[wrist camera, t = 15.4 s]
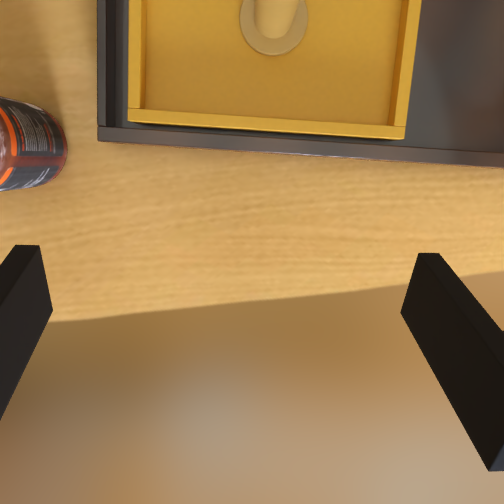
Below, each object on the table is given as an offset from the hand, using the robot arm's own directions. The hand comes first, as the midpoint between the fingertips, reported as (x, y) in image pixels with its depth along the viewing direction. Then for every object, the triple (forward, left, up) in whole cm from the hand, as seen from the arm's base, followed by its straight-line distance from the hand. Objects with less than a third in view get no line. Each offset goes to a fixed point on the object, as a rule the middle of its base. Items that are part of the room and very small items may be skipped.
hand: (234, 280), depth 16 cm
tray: (+1, +13, -17) cm, 22 cm away
